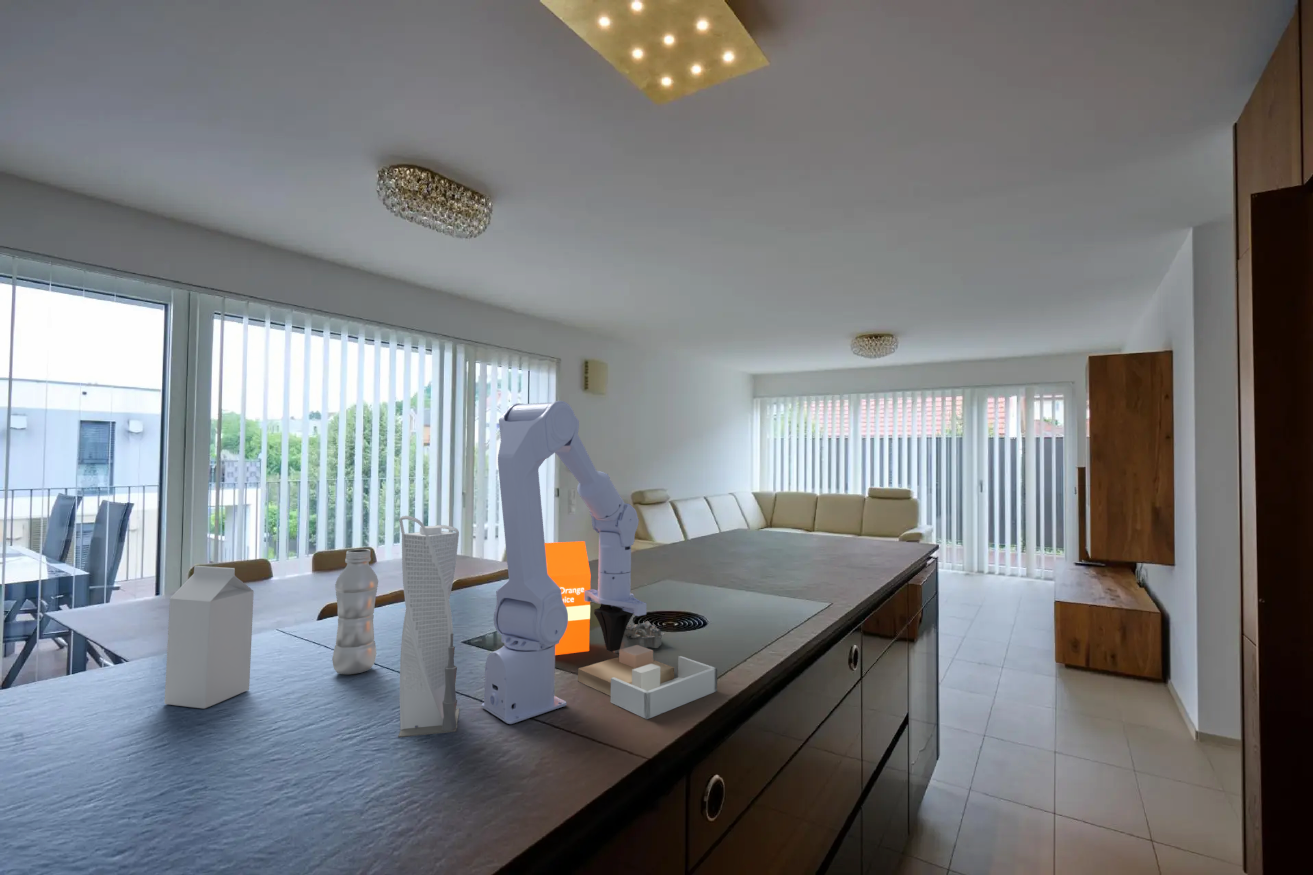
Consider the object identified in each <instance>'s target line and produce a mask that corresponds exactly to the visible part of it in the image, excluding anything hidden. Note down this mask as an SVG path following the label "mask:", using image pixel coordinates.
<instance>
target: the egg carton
mask: <svg viewBox="0 0 1313 875" xmlns="http://www.w3.org/2000/svg"><path fill="white" fill-rule="evenodd" d="M663 635H665V632H662V631H661V628H658V627H656V626H655V625H654V624H652V623H650V621H648V620H647V621H645V622H643V623H642V622H641V623H637V624H634V625H632V623H631V624H630V623H629V624H627V627H626V629H625V632H624V635H623V639H622V643H621V647H620V649H624V648H628V647H631V646H635V645H639V646H642V647H645V648H652V649H658V648H660V646H662V637H663ZM604 646H605V648H606V645H605V644H604ZM612 652H613V653H615V654H616V653H618V654H619V650H616V651H612Z"/></svg>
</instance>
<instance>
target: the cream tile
mask: <svg viewBox="0 0 1313 875" xmlns="http://www.w3.org/2000/svg"><path fill="white" fill-rule="evenodd" d="M632 685H634V686H636V687H639V688H641V689H644V690H646V691H649V690H652V689H655V688H658V687H660V667H659V666H657V665H654V664H648V665H645V666H642V667H639V668H636V669H633V670H632Z"/></svg>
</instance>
